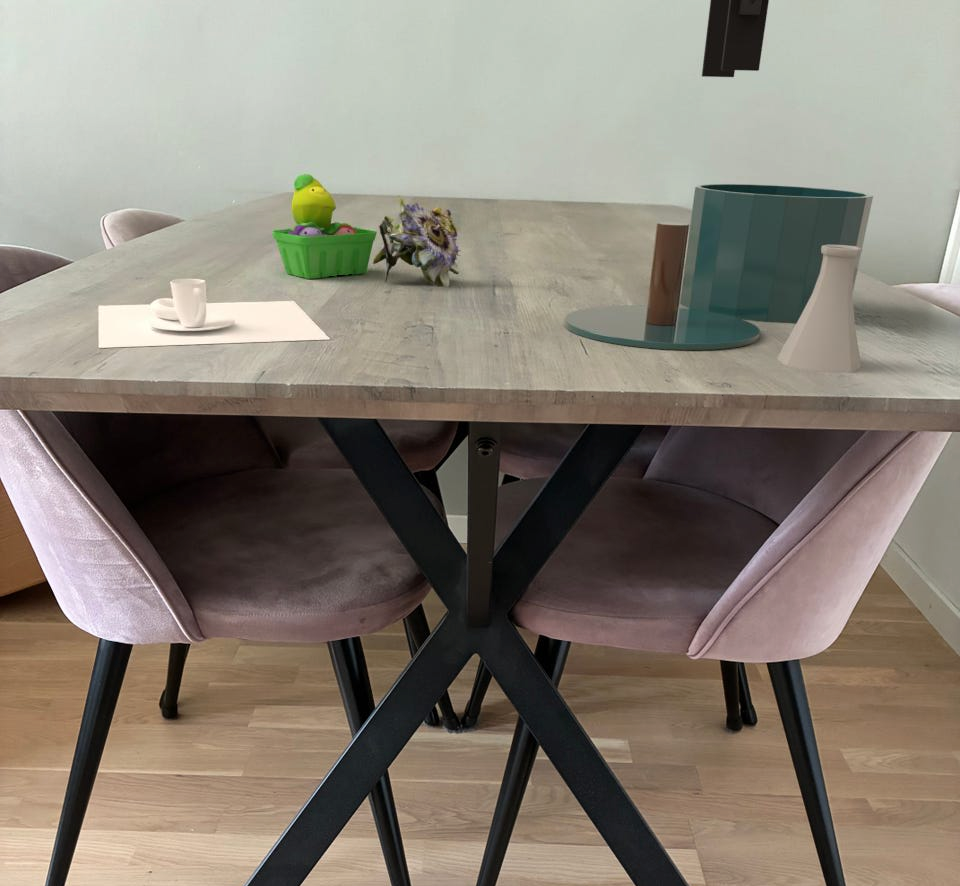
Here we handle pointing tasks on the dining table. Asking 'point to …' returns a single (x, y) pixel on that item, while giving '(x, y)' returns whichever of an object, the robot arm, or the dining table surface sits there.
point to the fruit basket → (321, 236)
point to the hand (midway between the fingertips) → (727, 74)
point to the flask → (827, 318)
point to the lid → (663, 309)
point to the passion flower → (421, 242)
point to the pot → (765, 246)
